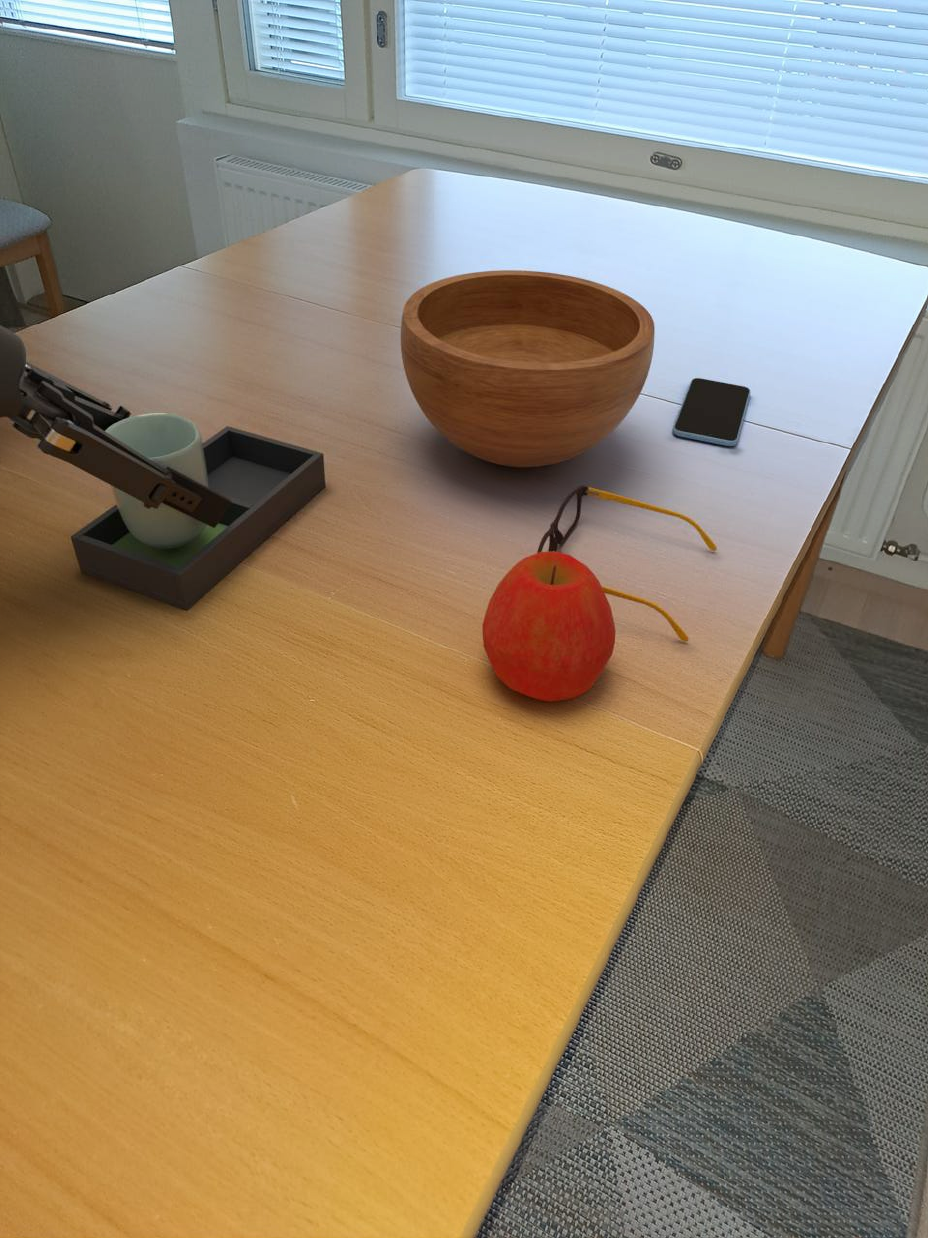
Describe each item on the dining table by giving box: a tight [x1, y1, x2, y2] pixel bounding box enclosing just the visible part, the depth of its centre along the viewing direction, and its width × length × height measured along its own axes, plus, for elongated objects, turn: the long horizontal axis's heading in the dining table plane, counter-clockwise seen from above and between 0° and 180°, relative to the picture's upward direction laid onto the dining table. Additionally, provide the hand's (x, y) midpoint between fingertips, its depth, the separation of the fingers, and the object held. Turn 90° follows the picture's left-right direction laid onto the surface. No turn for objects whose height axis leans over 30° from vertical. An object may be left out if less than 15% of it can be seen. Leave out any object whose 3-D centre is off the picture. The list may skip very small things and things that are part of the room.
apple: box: [481, 551, 616, 703], centre depth 69 cm, size 10×10×10 cm
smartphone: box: [672, 377, 751, 447], centre depth 107 cm, size 7×1×15 cm
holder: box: [70, 425, 327, 611], centre depth 85 cm, size 11×22×4 cm, turn 155°
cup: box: [105, 412, 209, 550], centre depth 78 cm, size 8×8×10 cm
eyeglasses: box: [536, 485, 718, 642], centre depth 81 cm, size 14×14×4 cm
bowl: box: [400, 269, 656, 468], centre depth 94 cm, size 25×25×15 cm
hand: (201, 490), depth 80 cm, fingers closed on cup, 8 cm apart
